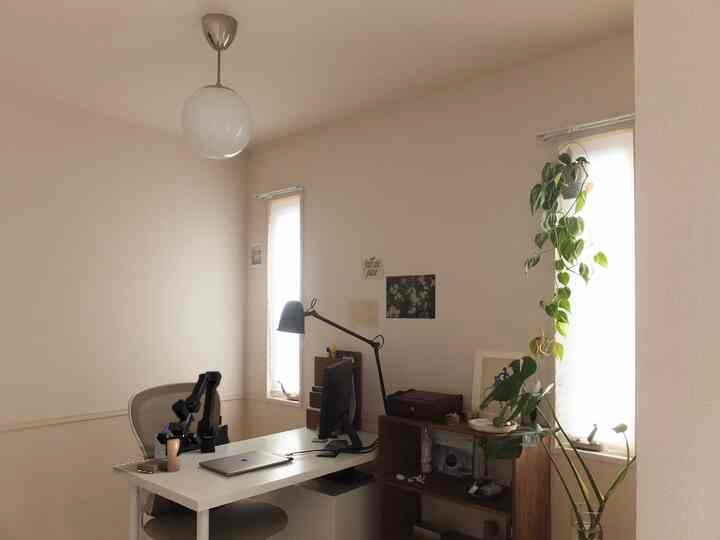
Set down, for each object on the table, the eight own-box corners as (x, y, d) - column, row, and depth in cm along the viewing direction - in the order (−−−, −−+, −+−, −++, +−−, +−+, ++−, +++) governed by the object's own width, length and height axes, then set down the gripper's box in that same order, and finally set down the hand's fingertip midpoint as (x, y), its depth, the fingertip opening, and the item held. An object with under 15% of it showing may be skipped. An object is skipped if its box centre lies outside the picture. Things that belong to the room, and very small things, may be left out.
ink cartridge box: (179, 456, 267) (178, 425, 268) (173, 459, 262) (172, 427, 263) (160, 455, 269) (160, 425, 270) (154, 458, 264) (153, 427, 265)
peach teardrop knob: (180, 468, 244) (179, 438, 246) (179, 471, 240) (178, 440, 241) (168, 469, 243) (167, 439, 244) (167, 472, 238) (166, 441, 240)
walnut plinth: (155, 465, 251) (155, 458, 251) (171, 467, 247) (171, 460, 247) (137, 471, 242) (137, 464, 242) (153, 473, 238) (153, 466, 238)
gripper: (158, 414, 249) (144, 445, 237) (196, 414, 246) (184, 445, 234) (167, 428, 256) (154, 459, 244) (205, 428, 253) (194, 459, 241)
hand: (171, 455), depth 241 cm, fingers closed on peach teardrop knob, 5 cm apart
